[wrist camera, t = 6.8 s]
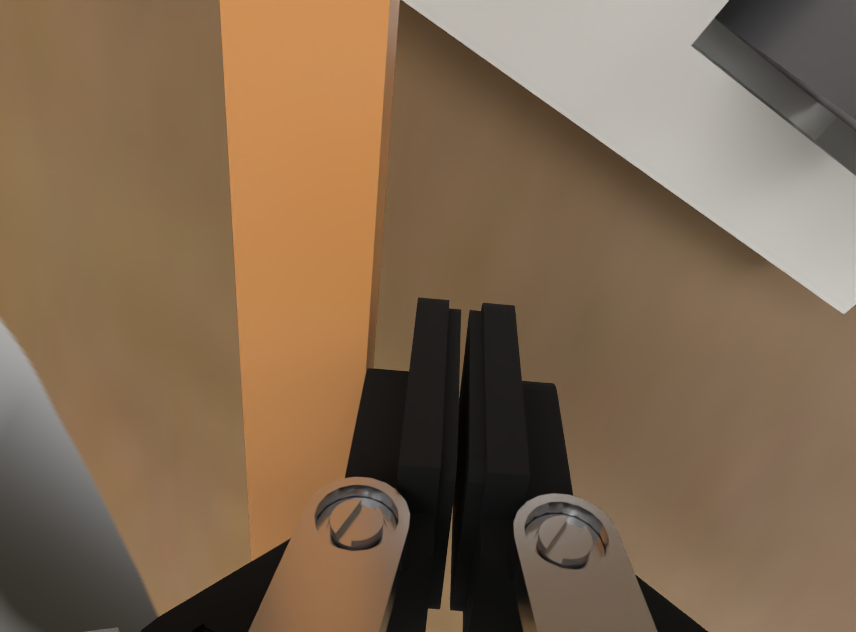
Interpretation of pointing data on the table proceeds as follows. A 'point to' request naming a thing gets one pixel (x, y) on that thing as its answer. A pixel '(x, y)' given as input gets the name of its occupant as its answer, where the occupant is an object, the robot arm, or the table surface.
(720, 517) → the table surface
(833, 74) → the plug
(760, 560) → the table surface
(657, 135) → the socket block
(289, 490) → the orange piece
